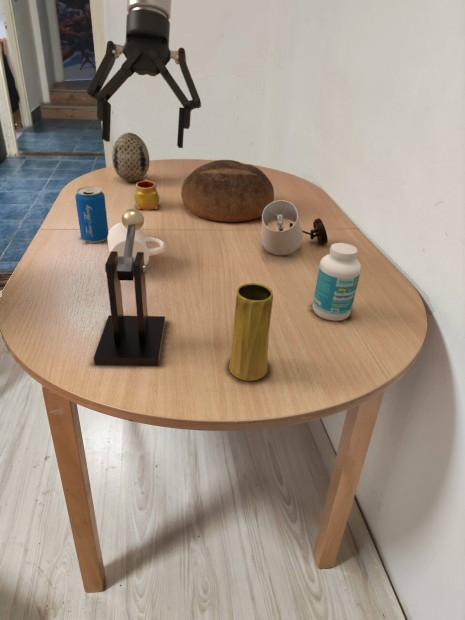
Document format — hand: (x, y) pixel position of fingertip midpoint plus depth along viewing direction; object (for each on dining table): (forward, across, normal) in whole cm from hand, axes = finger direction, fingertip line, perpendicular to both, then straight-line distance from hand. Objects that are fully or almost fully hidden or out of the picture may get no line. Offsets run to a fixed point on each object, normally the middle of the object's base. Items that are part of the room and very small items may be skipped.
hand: (143, 143), depth 83 cm
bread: (+8, +16, +48) cm, 52 cm away
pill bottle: (+28, +38, -2) cm, 47 cm away
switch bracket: (+34, +2, -13) cm, 37 cm away
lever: (+19, +1, -14) cm, 23 cm away
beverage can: (+19, -15, +24) cm, 35 cm away
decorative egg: (+2, -15, +67) cm, 69 cm away
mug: (+23, -2, +14) cm, 27 cm away
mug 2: (+9, -7, +48) cm, 50 cm away
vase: (+36, +22, -18) cm, 46 cm away
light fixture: (+18, +33, +23) cm, 44 cm away
